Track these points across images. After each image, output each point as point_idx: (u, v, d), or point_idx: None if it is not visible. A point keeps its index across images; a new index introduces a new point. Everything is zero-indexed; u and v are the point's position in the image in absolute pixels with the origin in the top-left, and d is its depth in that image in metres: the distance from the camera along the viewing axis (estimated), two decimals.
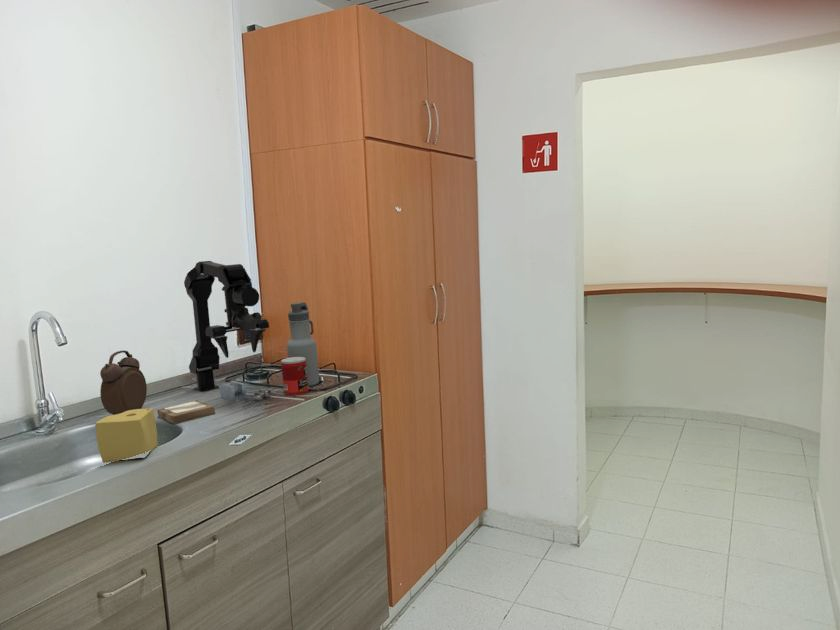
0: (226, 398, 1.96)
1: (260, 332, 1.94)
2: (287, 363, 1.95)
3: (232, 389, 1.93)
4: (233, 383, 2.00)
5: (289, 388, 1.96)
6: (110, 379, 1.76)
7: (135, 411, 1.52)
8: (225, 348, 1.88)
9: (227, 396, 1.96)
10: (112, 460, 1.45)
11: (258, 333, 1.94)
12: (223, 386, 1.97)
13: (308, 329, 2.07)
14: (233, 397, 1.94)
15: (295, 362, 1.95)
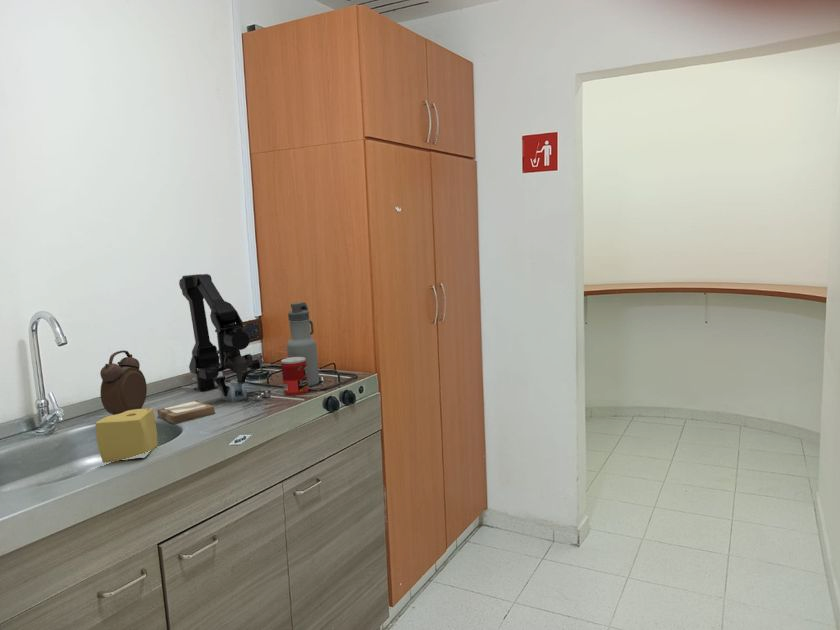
0: (226, 397, 1.96)
1: (246, 373, 1.98)
2: (287, 363, 1.95)
3: (232, 389, 1.93)
4: (233, 383, 2.00)
5: (289, 388, 1.96)
6: (110, 379, 1.76)
7: (135, 411, 1.52)
8: (223, 388, 1.95)
9: (227, 395, 1.96)
10: (112, 460, 1.45)
11: (244, 374, 1.98)
12: None
13: (308, 329, 2.07)
14: (233, 397, 1.94)
15: (295, 362, 1.95)
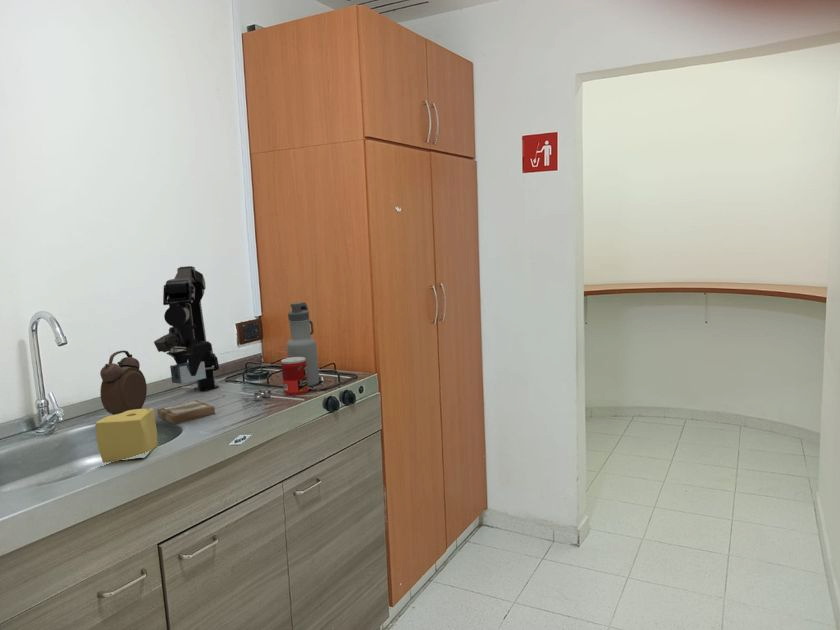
0: None
1: (186, 356, 1.76)
2: (287, 363, 1.95)
3: (171, 368, 1.79)
4: None
5: (289, 388, 1.96)
6: (110, 379, 1.76)
7: (135, 411, 1.52)
8: None
9: None
10: (112, 460, 1.45)
11: (186, 357, 1.77)
12: None
13: (308, 329, 2.07)
14: (172, 377, 1.80)
15: (295, 362, 1.95)
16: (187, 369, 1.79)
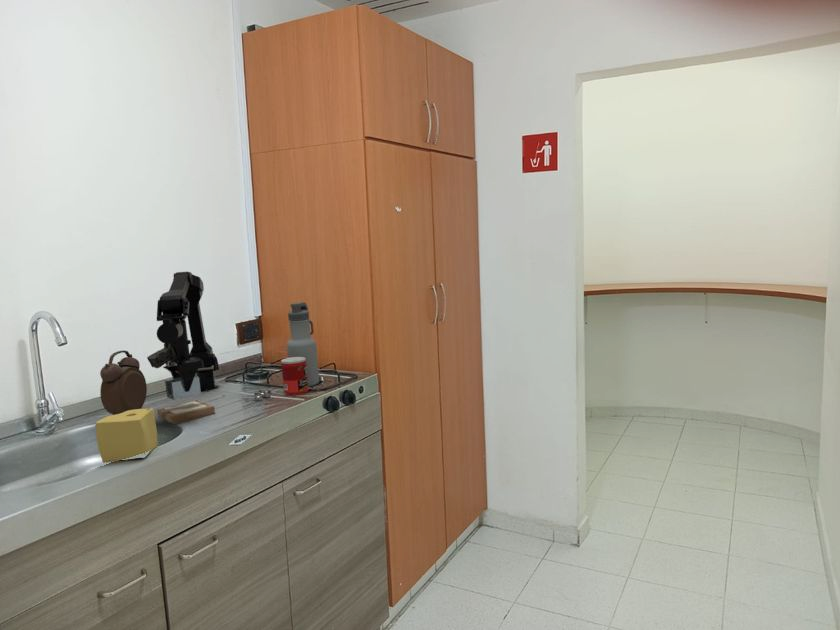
0: None
1: (178, 372, 1.75)
2: (287, 363, 1.95)
3: (166, 383, 1.79)
4: None
5: (289, 388, 1.96)
6: (110, 379, 1.76)
7: (135, 411, 1.52)
8: None
9: None
10: (112, 460, 1.45)
11: (178, 373, 1.76)
12: None
13: (308, 329, 2.07)
14: (167, 392, 1.79)
15: (295, 362, 1.95)
16: (180, 385, 1.77)
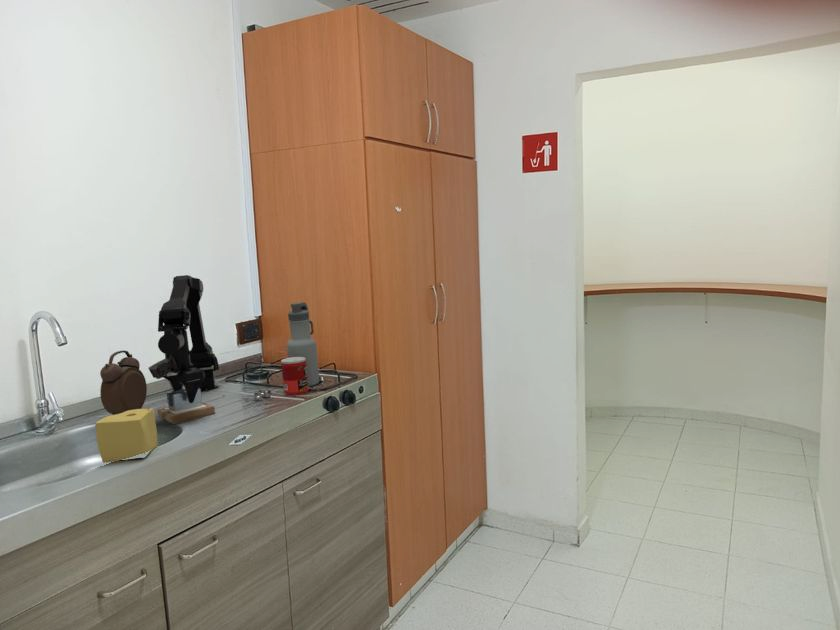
0: None
1: (182, 384, 1.74)
2: (287, 363, 1.95)
3: (167, 395, 1.80)
4: None
5: (289, 388, 1.96)
6: (110, 379, 1.76)
7: (135, 411, 1.52)
8: (172, 388, 1.84)
9: None
10: (112, 460, 1.45)
11: (182, 384, 1.75)
12: None
13: (308, 329, 2.07)
14: (168, 404, 1.80)
15: (295, 362, 1.95)
16: (181, 397, 1.78)
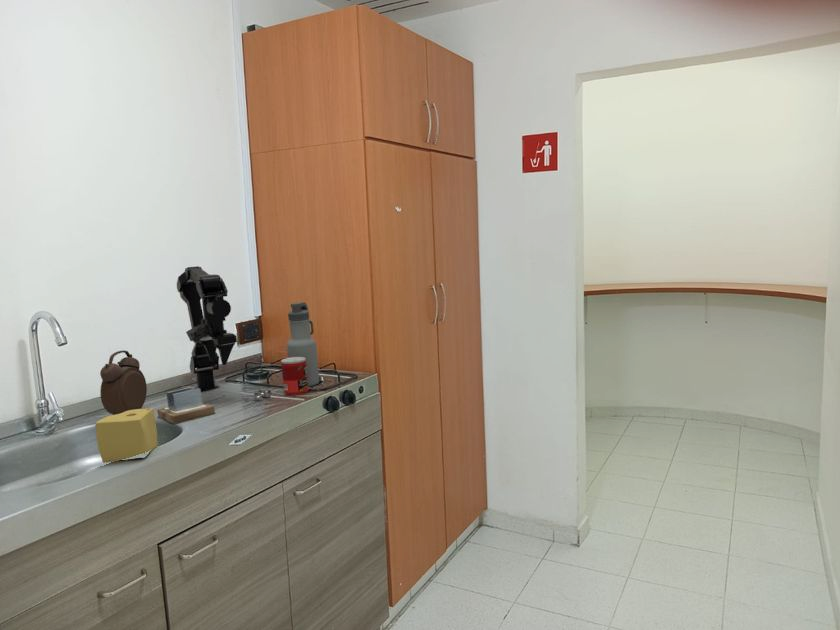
0: None
1: (216, 347, 1.91)
2: (287, 363, 1.95)
3: (167, 395, 1.80)
4: None
5: (289, 388, 1.96)
6: (110, 379, 1.76)
7: (135, 411, 1.52)
8: (207, 352, 2.01)
9: None
10: (112, 460, 1.45)
11: (216, 347, 1.91)
12: None
13: (308, 329, 2.07)
14: (168, 404, 1.80)
15: (295, 362, 1.95)
16: (181, 397, 1.78)
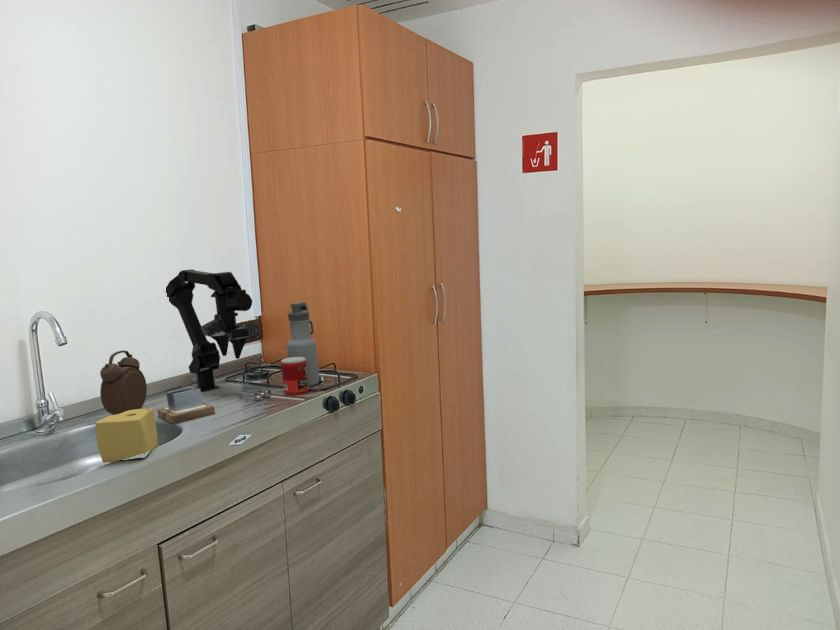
0: None
1: (230, 341, 1.97)
2: (287, 363, 1.95)
3: (167, 395, 1.80)
4: None
5: (289, 388, 1.96)
6: (110, 379, 1.76)
7: (135, 411, 1.52)
8: (219, 347, 2.07)
9: None
10: (112, 460, 1.45)
11: (230, 341, 1.98)
12: None
13: (308, 329, 2.07)
14: (168, 404, 1.80)
15: (295, 362, 1.95)
16: (181, 397, 1.78)
